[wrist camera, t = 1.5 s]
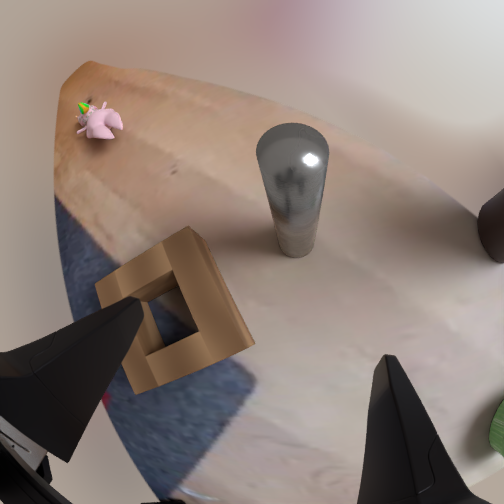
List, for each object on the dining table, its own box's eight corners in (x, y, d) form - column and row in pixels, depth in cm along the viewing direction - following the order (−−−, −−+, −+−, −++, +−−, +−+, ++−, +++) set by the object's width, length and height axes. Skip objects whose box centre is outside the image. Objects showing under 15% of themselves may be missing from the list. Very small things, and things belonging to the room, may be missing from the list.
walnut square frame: (158, 385, 22) (135, 394, 18) (120, 289, 25) (94, 283, 21) (255, 343, 21) (246, 348, 18) (204, 240, 24) (188, 225, 20)
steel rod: (289, 264, 23) (278, 193, 10) (272, 234, 23) (244, 141, 11) (320, 246, 22) (343, 161, 10) (302, 217, 23) (303, 113, 11)
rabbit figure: (79, 135, 34) (108, 161, 28) (56, 114, 29) (77, 132, 23) (105, 107, 35) (143, 123, 29) (84, 85, 30) (116, 91, 23)
